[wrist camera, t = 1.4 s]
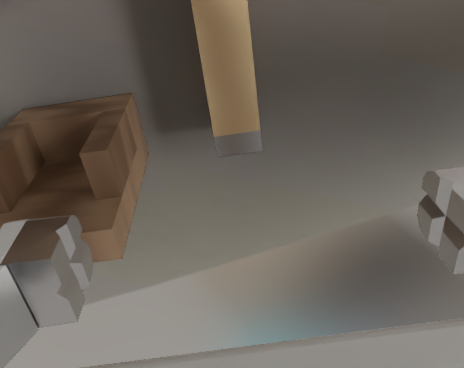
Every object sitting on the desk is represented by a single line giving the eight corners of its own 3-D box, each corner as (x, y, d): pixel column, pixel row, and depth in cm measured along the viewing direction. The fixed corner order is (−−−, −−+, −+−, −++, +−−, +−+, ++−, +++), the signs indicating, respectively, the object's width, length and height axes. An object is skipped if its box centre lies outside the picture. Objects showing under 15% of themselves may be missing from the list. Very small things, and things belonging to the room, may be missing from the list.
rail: (232, -82, 24) (238, -85, 20) (254, 121, 31) (262, 151, 27) (182, -74, 24) (178, -76, 20) (215, 126, 31) (217, 157, 27)
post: (48, 168, 32) (-25, 278, 22) (23, 109, 29) (-74, 202, 19) (148, 154, 32) (122, 258, 22) (132, 93, 29) (93, 178, 19)
